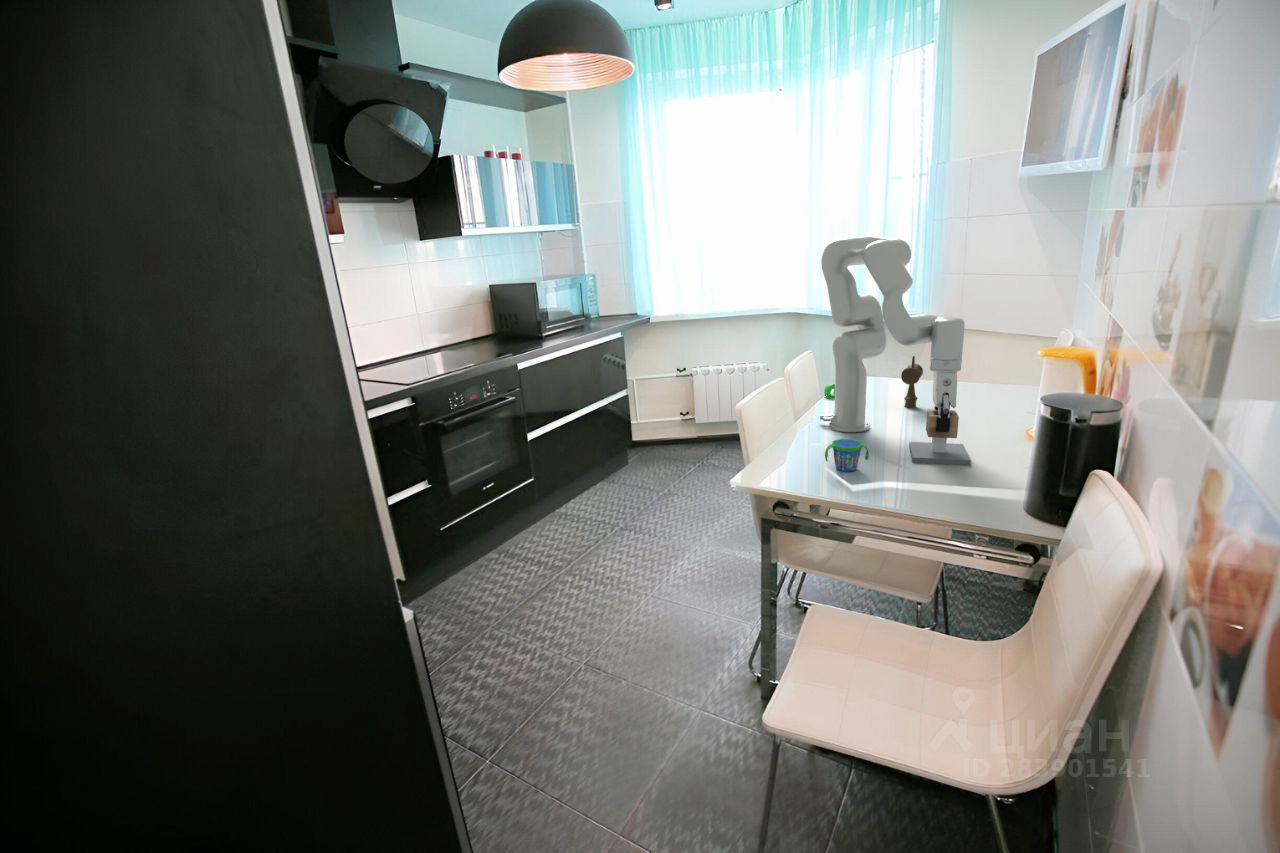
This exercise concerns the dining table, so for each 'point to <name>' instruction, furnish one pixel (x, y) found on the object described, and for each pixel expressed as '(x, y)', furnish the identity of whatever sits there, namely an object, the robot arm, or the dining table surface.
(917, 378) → the kendama
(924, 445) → the board
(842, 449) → the snack cup
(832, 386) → the mechanical part
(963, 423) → the dining table surface
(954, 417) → the brown wooden square box
